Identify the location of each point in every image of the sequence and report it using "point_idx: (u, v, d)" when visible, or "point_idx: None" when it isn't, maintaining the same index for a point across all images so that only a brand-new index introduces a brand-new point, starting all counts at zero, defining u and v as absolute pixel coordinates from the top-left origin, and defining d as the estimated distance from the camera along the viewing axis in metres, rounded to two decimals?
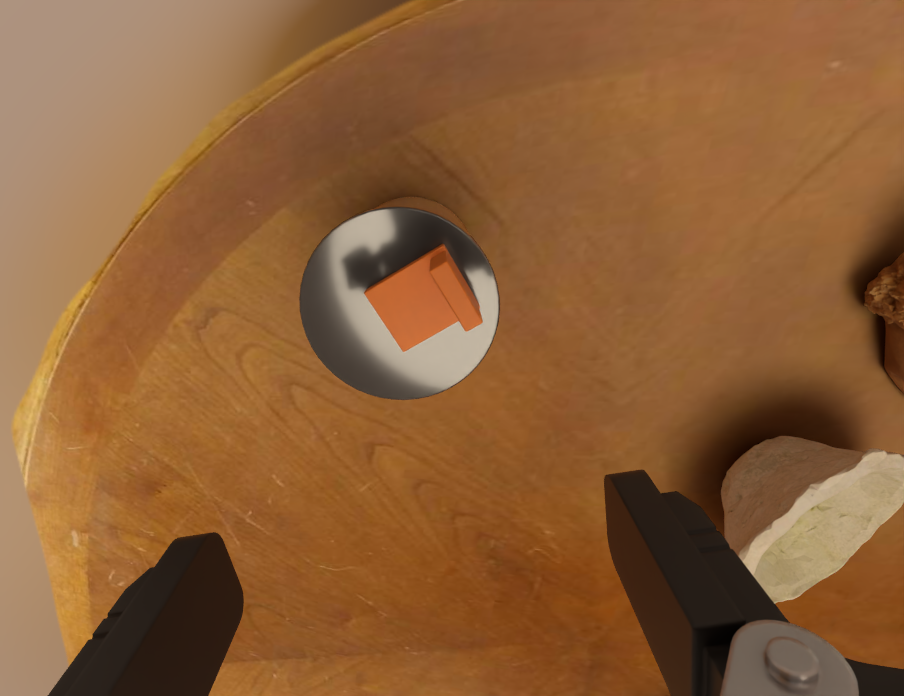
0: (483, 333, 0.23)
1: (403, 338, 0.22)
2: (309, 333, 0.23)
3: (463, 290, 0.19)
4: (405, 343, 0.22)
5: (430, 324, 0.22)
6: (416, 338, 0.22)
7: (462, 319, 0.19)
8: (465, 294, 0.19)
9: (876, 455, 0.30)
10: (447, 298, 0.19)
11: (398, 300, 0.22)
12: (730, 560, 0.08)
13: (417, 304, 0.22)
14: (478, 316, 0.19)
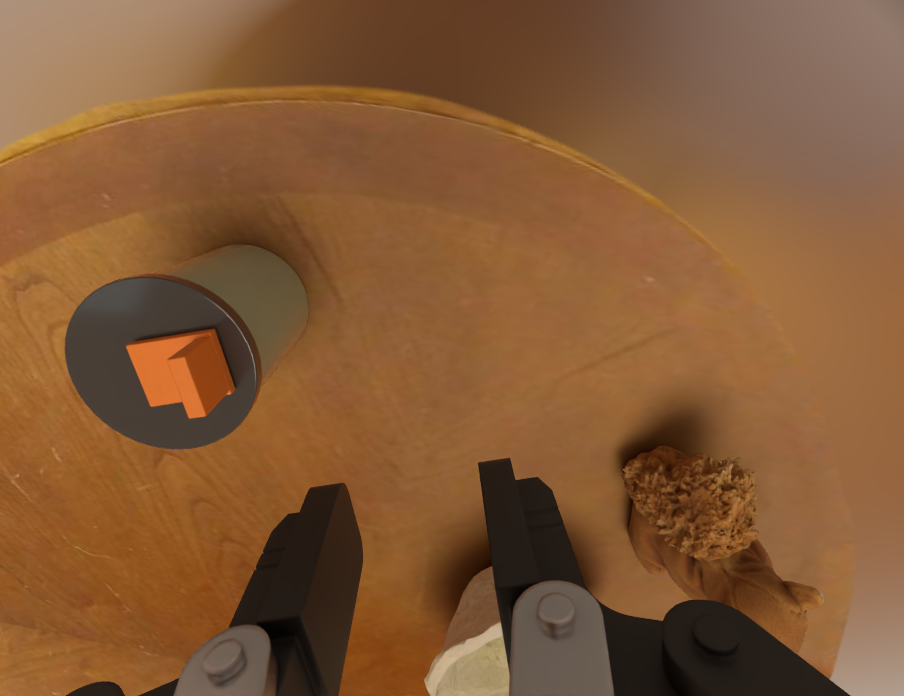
0: (234, 413, 0.25)
1: (153, 396, 0.24)
2: (69, 360, 0.24)
3: (194, 385, 0.21)
4: (154, 400, 0.24)
5: None
6: (165, 399, 0.24)
7: (187, 408, 0.21)
8: (195, 389, 0.21)
9: None
10: (177, 386, 0.21)
11: (156, 362, 0.23)
12: (558, 535, 0.09)
13: None
14: (202, 410, 0.21)
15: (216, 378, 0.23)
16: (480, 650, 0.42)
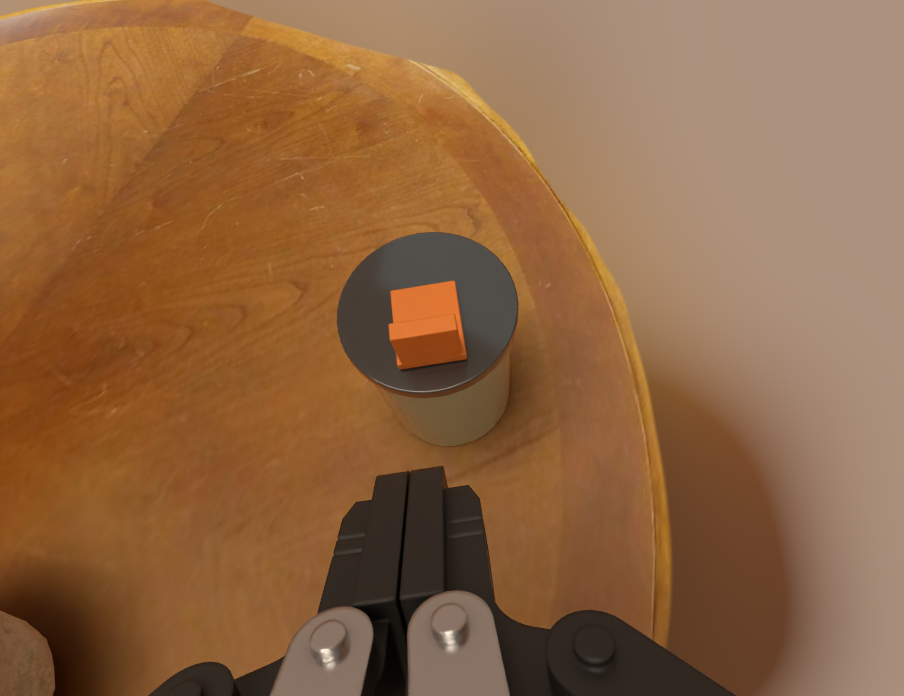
0: (371, 365, 0.24)
1: (401, 295, 0.24)
2: (439, 234, 0.26)
3: (425, 334, 0.20)
4: (397, 295, 0.24)
5: (403, 320, 0.24)
6: (396, 304, 0.24)
7: (400, 324, 0.21)
8: (421, 334, 0.20)
9: None
10: (425, 318, 0.21)
11: (436, 303, 0.24)
12: (476, 544, 0.09)
13: (425, 316, 0.24)
14: (397, 338, 0.20)
15: (420, 354, 0.22)
16: None
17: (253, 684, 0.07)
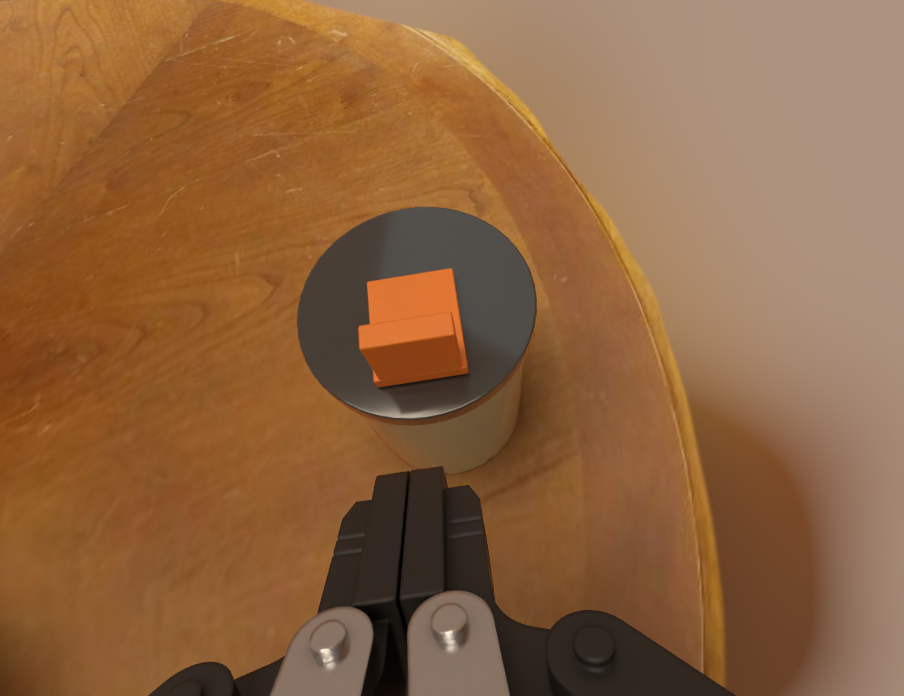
0: (340, 381, 0.18)
1: (381, 287, 0.18)
2: (433, 210, 0.20)
3: (410, 340, 0.14)
4: (376, 287, 0.18)
5: (383, 320, 0.18)
6: (375, 300, 0.18)
7: (375, 326, 0.15)
8: (404, 340, 0.14)
9: None
10: (409, 319, 0.15)
11: (427, 297, 0.18)
12: (477, 544, 0.09)
13: (413, 315, 0.18)
14: (369, 346, 0.14)
15: (404, 367, 0.16)
16: None
17: (253, 684, 0.07)
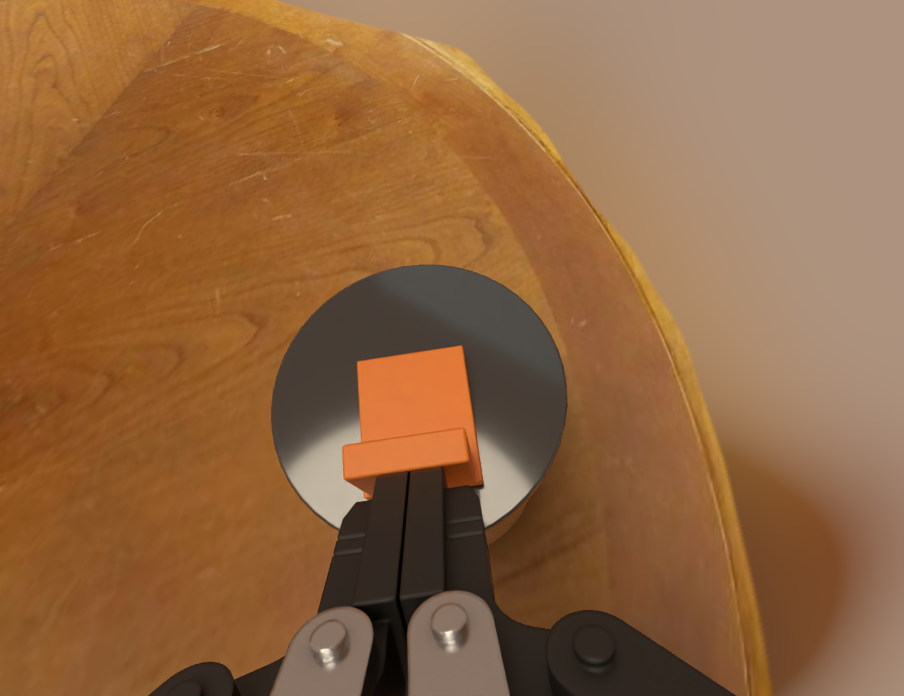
0: (323, 493, 0.14)
1: (375, 369, 0.15)
2: (438, 269, 0.17)
3: (410, 468, 0.11)
4: (368, 369, 0.15)
5: (377, 413, 0.14)
6: (366, 386, 0.15)
7: (364, 447, 0.11)
8: (402, 469, 0.11)
9: None
10: (410, 437, 0.11)
11: (432, 384, 0.14)
12: (477, 544, 0.09)
13: (414, 407, 0.14)
14: (357, 475, 0.11)
15: None
16: None
17: (253, 684, 0.07)
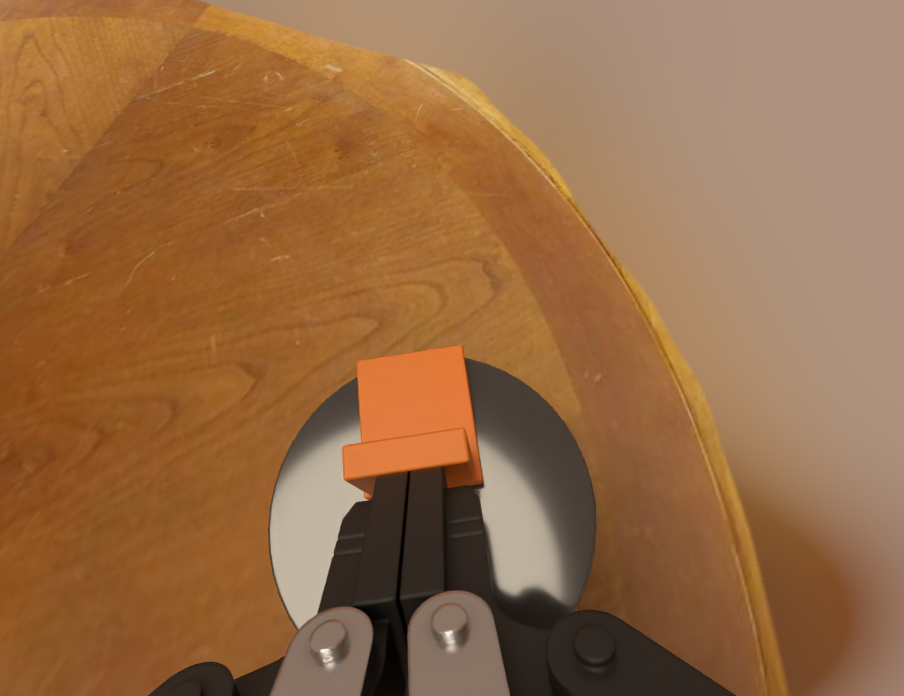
0: None
1: (374, 369, 0.15)
2: None
3: (410, 469, 0.11)
4: (368, 369, 0.15)
5: (376, 413, 0.14)
6: (366, 386, 0.15)
7: (364, 447, 0.11)
8: (402, 469, 0.11)
9: None
10: (409, 437, 0.11)
11: (432, 384, 0.14)
12: (477, 544, 0.09)
13: (414, 407, 0.14)
14: (357, 476, 0.11)
15: None
16: None
17: (253, 684, 0.07)
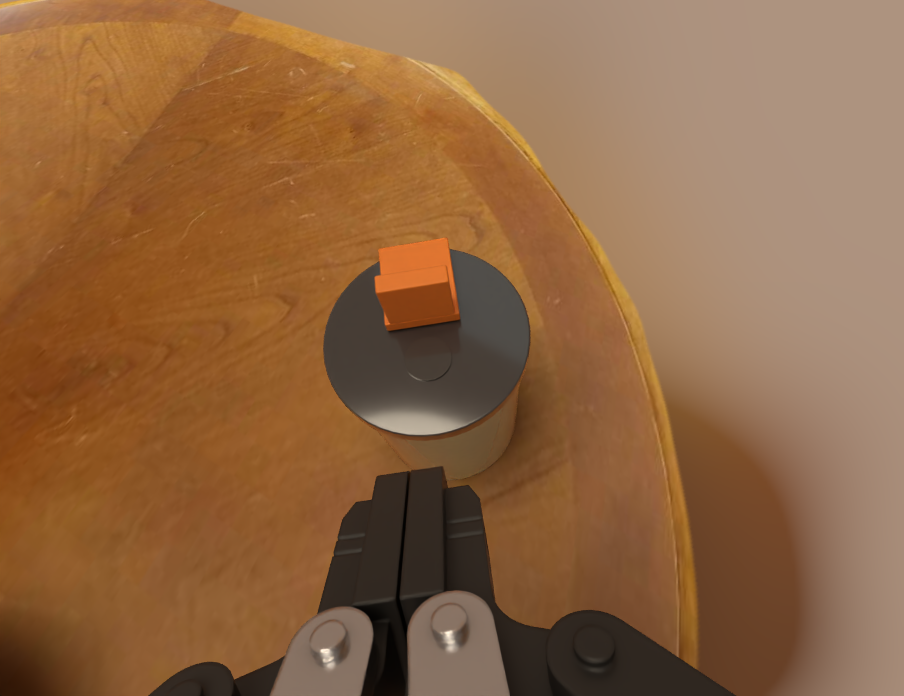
0: (362, 402, 0.21)
1: (390, 253, 0.23)
2: None
3: (414, 286, 0.19)
4: (386, 253, 0.23)
5: None
6: (385, 263, 0.22)
7: (388, 276, 0.19)
8: (410, 286, 0.19)
9: None
10: (414, 270, 0.19)
11: (427, 261, 0.22)
12: (477, 544, 0.09)
13: None
14: (383, 290, 0.19)
15: (409, 312, 0.20)
16: None
17: (253, 684, 0.07)
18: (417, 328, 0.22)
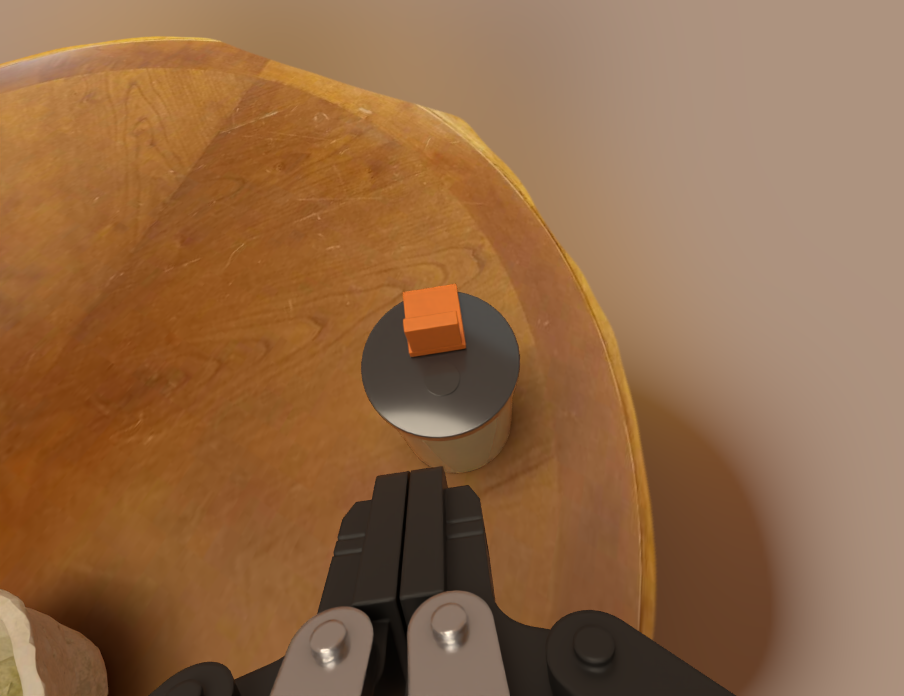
0: (392, 412, 0.27)
1: (412, 295, 0.29)
2: None
3: (433, 327, 0.25)
4: (408, 295, 0.29)
5: (413, 316, 0.29)
6: (408, 304, 0.29)
7: (412, 319, 0.26)
8: (429, 327, 0.25)
9: None
10: (432, 314, 0.26)
11: (441, 302, 0.29)
12: (477, 544, 0.09)
13: (432, 313, 0.29)
14: (410, 330, 0.25)
15: (428, 344, 0.27)
16: None
17: (253, 684, 0.07)
18: (433, 355, 0.28)
